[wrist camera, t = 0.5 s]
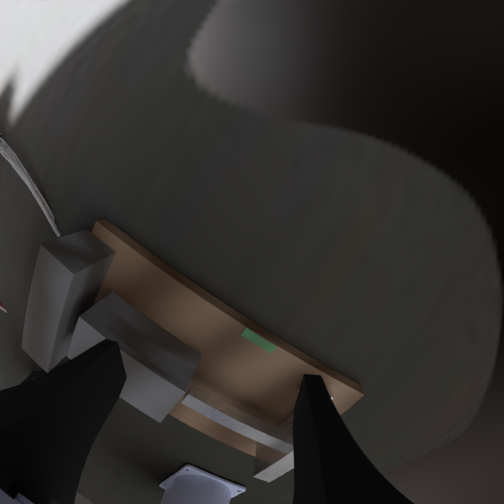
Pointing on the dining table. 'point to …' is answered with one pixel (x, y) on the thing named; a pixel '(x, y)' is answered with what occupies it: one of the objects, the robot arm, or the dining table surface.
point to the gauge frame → (163, 334)
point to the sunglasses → (22, 172)
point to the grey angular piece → (250, 432)
